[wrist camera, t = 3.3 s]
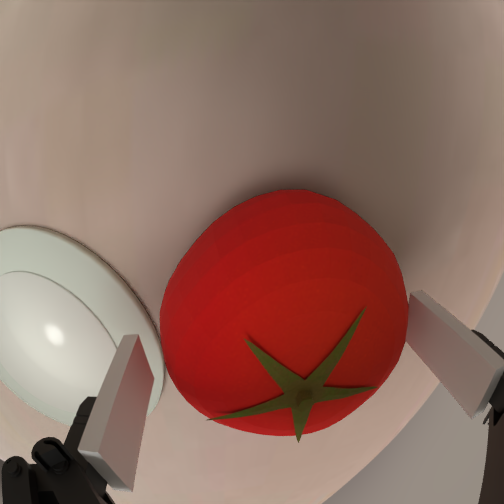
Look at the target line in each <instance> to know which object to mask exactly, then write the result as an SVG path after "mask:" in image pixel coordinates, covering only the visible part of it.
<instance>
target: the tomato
mask: <svg viewBox="0 0 504 504" xmlns="http://www.w3.org/2000/svg"><path fill="white" fill-rule="evenodd" d="M408 309H409V306H408V301H407V295H406V290H405V286H404V281H403V277H402V273H401V270H400V268H399V265H398V263H397V260H396V258H395V255H394V253H393V252H392V251H391V250H390V248H389V247H388V246H387V244H386V243H385V242H384V240H383V239H382V238H381V237H380V236H379V234H378V233H377V232H376V231H375V230H374V229H373V228H372V227H371V226H370V225H369V224H368V223H367V222H365V221H364V220H363V219H362V218H361V217H360V216H359V215H357V214H356V213H355V212H353V211H352V210H350V209H349V208H347V207H346V206H345V205H343V204H342V203H340V202H339V201H337V200H335V199H332V198H329V197H326V196H323V195H320V194H317V193H314V192H311V191H308V190H305V189H301V190H278V191H274V192H270V193H266V194H263V195H259V196H256V197H254V198H252V199H249V200H247V201H245V202H243V203H241V204H239V205H237V206H235V207H233V208H232V209H231V210H229V211H228V212H227V213H225V214H224V215H222V216H221V217H220V218H218V219H217V220H216V221H214V222H213V223H212V224H211V225H210V226H209V227H208V228H207V229H206V231H205V232H204V233H203V234H202V235H201V236H200V237H199V238H198V239H197V240H196V241H195V243H194V244H193V245H192V246H191V248H190V249H189V250H188V252H187V253H186V254H185V256H184V257H183V258H182V259H181V261H180V263H179V264H178V266H177V268H176V269H175V271H174V273H173V275H172V276H171V278H170V280H169V282H168V285H167V288H166V290H165V294H164V297H163V301H162V305H161V309H160V336H161V346H162V351H163V356H164V361H165V364H166V367H167V370H168V373H169V376H170V377H171V379H172V381H173V383H174V384H175V386H176V388H177V389H178V391H179V392H180V393H181V394H182V396H183V397H184V398H185V399H186V401H187V402H189V403H190V404H191V405H192V406H193V407H194V408H195V409H197V410H198V411H199V412H200V413H202V414H203V415H205V416H207V417H208V418H210V419H208V420H213V421H215V422H217V423H220V424H223V425H226V426H229V427H232V428H235V429H238V430H242V431H246V432H251V433H256V434H262V435H273V436H295V435H296V437H297V440H298V443H299V441H300V438H301V435H302V434H308V433H313V432H316V431H319V430H322V429H325V428H327V427H329V426H331V425H333V424H335V423H337V422H338V421H340V420H342V419H343V418H345V417H346V416H347V415H349V414H350V413H352V412H353V411H354V410H356V409H357V408H358V407H359V406H360V405H362V404H363V403H364V402H365V401H366V400H368V399H369V398H370V397H371V396H372V395H373V394H374V393H375V392H376V391H377V390H378V389H379V388H380V386H381V385H382V384H383V383H384V382H385V381H386V379H387V378H388V377H389V375H390V374H391V372H392V370H393V369H394V367H395V366H396V364H397V362H398V361H399V358H400V355H401V352H402V350H403V347H404V344H405V340H406V334H407V327H408Z"/></svg>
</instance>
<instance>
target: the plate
mask: <svg viewBox="0 0 504 504" xmlns="http://www.w3.org/2000/svg"><path fill="white" fill-rule="evenodd" d="M131 334H139V337H140V340H141V343H142V346H143V349H144V351H145V354H146V357H147V360H148V363H149V365H150V368H151V371H152V373H153V376H154V378H155V379H154V383H153V388H152V392H151V397H150V401H149V406H148V410H147V415H146V417H147V416H148V415H149V414H150V413H151V412H152V411H153V409H154V408H155V406H156V405H157V403H158V401H159V398H160V395H161V391H162V387H163V381H164V370H165V367H164V356H163V352H162V347H161V343H160V340H159V338H158V335H157V332H156V330H155V327H154V325H153V323H152V321H151V319H150V317H149V316H148V314H147V312H146V310H145V309H144V307H143V306H142V304H141V303H140V301H139V300H138V298H137V296H136V295H135V294H134V293H133V291H132V290H131V289H130V288H129V286H128V285H127V284H126V283H125V281H124V280H123V279H122V278H121V277H120V276H119V275H118V274H117V273H116V272H115V271H114V270H113V269H112V268H111V267H110V266H109V265H108V264H107V263H105V262H104V261H103V260H102V259H101V258H99V257H98V256H97V255H96V254H95V253H93V252H92V251H90V250H89V249H87V248H86V247H84V246H83V245H82V244H80V243H78V242H77V241H75V240H73V239H71V238H69V237H67V236H65V235H63V234H61V233H58V232H55V231H53V230H50V229H46V228H41V227H37V226H15V227H9V228H7V229H4V230H1V231H0V380H1V381H2V382H3V383H4V384H5V385H6V386H7V387H8V388H9V389H10V390H11V391H12V392H13V393H14V394H15V395H16V396H18V397H19V398H20V399H21V400H23V401H24V402H25V403H26V404H28V405H29V406H31V407H32V408H34V409H35V410H37V411H38V412H40V413H42V414H44V415H45V416H47V417H49V418H51V419H53V420H56V421H58V422H60V423H63V424H66V425H69V426H71V425H72V424H73V420H74V418H75V416H76V413H77V411H78V408H79V406H80V404H81V403H82V402H83V401H84V400H85V399H86V398H87V397H88V396H90V397H97V396H98V393H99V391H100V388H101V386H102V383H103V381H104V379H105V376H106V374H107V371H108V369H109V367H110V364H111V362H112V360H113V357H114V355H115V353H116V351H117V348H118V346H119V344H120V342H121V339H122V337H123V335H131Z"/></svg>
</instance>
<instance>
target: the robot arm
mask: <svg viewBox="0 0 504 504" xmlns="http://www.w3.org/2000/svg"><path fill="white" fill-rule="evenodd" d="M408 306H409V309H408V327H407V334H406V340H405V341H406V342H407V343H408V344H409V345H410V346H411V348H412V349H413V350H414V351H415V352H416V353H417V354H418V356H419V357H420V358H421V359H422V360H423V361H424V363H425V364H426V365H427V366H428V367H429V368H430V370H431V371H432V372H433V373H434V374H435V375H436V377H437V378H438V379H439V380H440V381H441V383H442V384H443V385H444V386H445V387H446V389H447V390H448V391H449V392H450V393H451V395H452V396H453V397H454V398H455V399H456V401H457V402H458V403H459V405H460V406H461V407H462V408H463V410H464V411H465V412H466V413H467V415H468V416H469V417H470V418H471V419H472V418H474V417H476V416H477V415H479V414H481V413H482V412H483V411H484V410H485V408H486V406H487V404H488V402H489V403H490V404H491V405H492V407H491V409H490V411H489V412H488V414H487V416H486V418H485V419H484V421H483V424H485V423H486V421H487V420H488V418H489V423H488V425H489V432H488V445H487V455H486V463H485V470H484V477H483V483H482V488H481V493H480V498H479V503H478V504H504V353H503V352H502V351H501V350H500V349H499V348H498V347H497V346H494V344H493V343H492V342H491V341H489V340H488V339H487V338H486V337H485V336H484V335H483V334H481V333H479V332H477V331H475V330H470V329H469V328H468V327H466V326H465V325H464V324H463V323H462V322H460V321H459V320H458V319H457V318H456V317H454V316H453V315H452V314H451V313H450V312H448V311H447V310H446V309H445V308H443V307H442V306H441V305H440V304H438V303H437V302H436V301H435V300H433V299H432V298H431V297H430V296H428V295H427V294H426V293H425V292H423V291H422V290H421V291H417V292H412V293H410V298H409V305H408ZM154 379H155V378H154V376H153V373H152V371H151V368H150V365H149V363H148V360H147V357H146V354H145V351H144V349H143V346H142V343H141V340H140V337H139V334H131V335H123V337H122V339H121V342H120V344H119V346H118V348H117V351H116V353H115V355H114V357H113V360H112V362H111V364H110V367H109V369H108V371H107V374H106V376H105V379H104V381H103V383H102V386H101V388H100V391H99V393H98V396H97V397H90V396H88V397H87V398H86V399H85V400H84V401H83V402H82V403H81V404H80V406H79V408H78V411H77V413H76V416H75V418H74V420H73V424H72V425H71V427H70V430H69V432H68V435H67V438H66V440H65V443H64V445H63V444H62V443H61V441H60V440H58V439H56V438H54V437H47V438H43V439H41V440H40V441H38V442H37V443H36V444H35V445H34V447H33V449H32V452H31V453H32V459H33V460H34V461H35V462H36V463H37V464H28V463H27V462H26V461H25V460H24V458H22V457H19V456H13V457H10V458H9V459H7V460H6V461H5V463H4V464H3V467H2V496H3V504H115V503H114V501H113V500H112V498H111V497H110V495H109V494H108V493H107V492H106V486H107V483H108V484H109V485H110V486H111V487H112V488H113V489H114V490H119V491H127V492H133V487H134V480H135V474H136V468H137V462H138V457H139V451H140V446H141V440H142V435H143V430H144V425H145V420H146V415H147V410H148V406H149V401H150V397H151V392H152V388H153V383H154Z"/></svg>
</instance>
